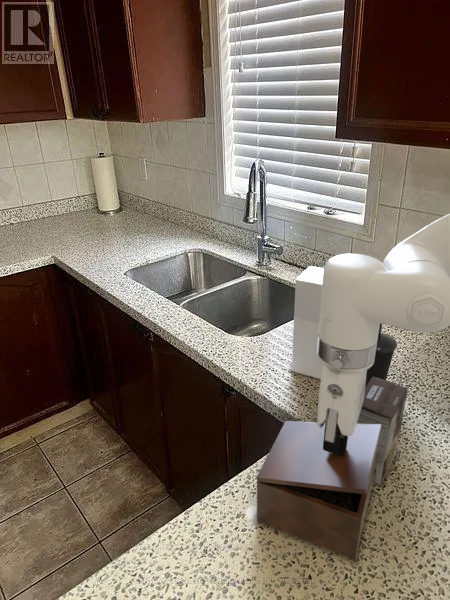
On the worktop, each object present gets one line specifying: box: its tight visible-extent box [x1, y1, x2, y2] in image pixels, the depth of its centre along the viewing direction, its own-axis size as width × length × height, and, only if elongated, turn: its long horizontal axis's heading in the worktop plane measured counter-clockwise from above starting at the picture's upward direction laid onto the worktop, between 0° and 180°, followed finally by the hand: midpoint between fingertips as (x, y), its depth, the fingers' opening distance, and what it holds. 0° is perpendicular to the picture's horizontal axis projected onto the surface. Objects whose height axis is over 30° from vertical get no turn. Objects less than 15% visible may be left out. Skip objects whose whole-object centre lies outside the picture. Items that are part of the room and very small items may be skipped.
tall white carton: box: [291, 265, 324, 380], centre depth 104 cm, size 9×9×25 cm
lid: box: [256, 420, 382, 495], centre depth 69 cm, size 16×14×1 cm
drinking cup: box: [365, 323, 398, 388], centre depth 96 cm, size 8×8×20 cm
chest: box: [256, 452, 378, 561], centre depth 72 cm, size 16×14×10 cm
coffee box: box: [357, 377, 409, 485], centre depth 79 cm, size 9×6×16 cm
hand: (334, 449), depth 67 cm, fingers closed
